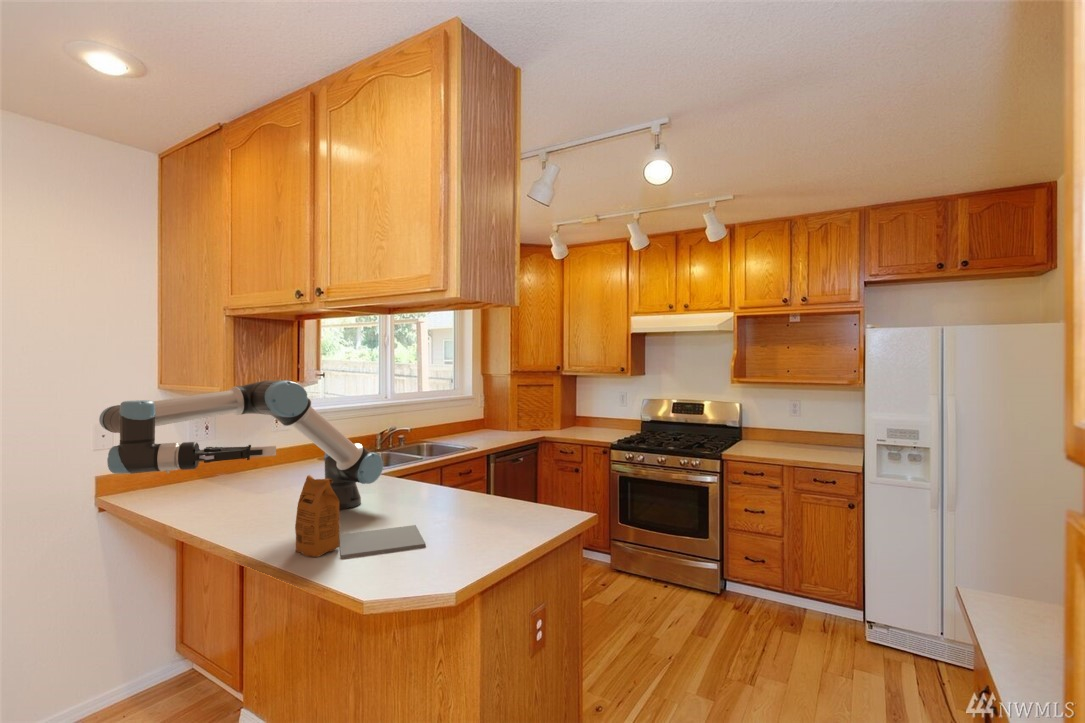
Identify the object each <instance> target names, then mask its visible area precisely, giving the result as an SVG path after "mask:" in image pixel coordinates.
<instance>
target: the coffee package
mask: <svg viewBox="0 0 1085 723" xmlns="http://www.w3.org/2000/svg"><path fill="white" fill-rule="evenodd" d="M331 483H333V481H332V480H331V479H325V478H316V479H315V478H314V477H313V476H312V475H310V474H309V475H307V476H306V478H305V481H304V484H303V487H302V490H301V493H300V496H299V499H298V502H297V507H296V515H295V516H296V517H295V525H294V531H295V532H294V533H295V552H297V553H302V555H303V556H305V557H315V558H318V557H321V556H322V555H324V554H326V553H328V552H331V551H335V550H336V549H338V548H340V529H341V527H340V509H339V500H338V498H337V496H336V494H335V492H334V491H333V489H332V487H331V485H330V484H331Z"/></svg>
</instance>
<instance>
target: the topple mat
mask: <svg viewBox="0 0 1085 723" xmlns="http://www.w3.org/2000/svg"><path fill="white" fill-rule="evenodd" d="M426 544H427V543H426V542H425V540H424V538H423V536H422V535H421V533H420V530H419V529H418V526H417V525H416V524H413V525H407V526H406V525H405V526H397V527H386V528H380V529H373V530H364V531H355V532H354V531H353V532H346V533H339V549H340V550H339V551H340V552H339V553H340V559H349V558H355V557H364V556H371V555H376V554H377V555H378V554H384V553H391V552H399V551H405V550H406V551H407V550H413V549H415V550H416V549H419V548H420V549H421V548H426V546H427V545H426Z"/></svg>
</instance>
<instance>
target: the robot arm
mask: <svg viewBox="0 0 1085 723" xmlns="http://www.w3.org/2000/svg"><path fill="white" fill-rule="evenodd" d="M230 414H234V415H236V416H240V415H241V416H242V415H249V414H251V415H253V414H256V415H266V416H271V417H273V418H274V419H276V420H277V421H278V422H280V424H282V425H283V426H285V427H291V426H292V427H293V428H294V429H296V430H297V431H298V432H299V433H300V434H302V435H303V436H304V437H306V438H307V439H308V440H309V441H311V442H312V443H313V444H314V445H316V446H317V448H319V449H321V451H323V452H324V459H323V460H324V479H331V480H332V481H333V483H331V484H330V485H331V487H332V489H333V491H334V492H335V494H336V496H337V498H338V500H339V510H344V509H343V508H346V509H350V508H349V507H351V508H355V507H357V506H359V505H361V503H362V496H361V494H360V491H359V489H358V488H359V487H358V485H357V483H360V484H362V485H365V484H366V485H370V484H372V483H375V482H376V481H377V480H378V479H379V478H380V476H381V475H382V472H383V469H384V466H383V465H384V462H383V459H382V456H381V455H380V454H378V453H376V452H373V451H372V452H371V451H369V450H368V449H367V448H365V446H363V445H362V443H359V442H355V443H353V442H352V440H350V439H349V438H348V437H347V436H345V435H344V434H343V433H342V432H340V430H339V429H338V428H336V427H335V426H334V425H333V424H332V423H330V422H329V421H328V420H327V419H326V418H325V417H324V416H322V415H321V414H320V413H319V412H318V411H317V410H315V409H314V408H313V407H312V400H311V399H310V398H309V397H308V392H307V390H306V389H305V388H304V387H303V386H302V385H301V384H300V383H297V382H294V381H291V380H283V379H282V380H260V381H257V382H253V383H249V384H248V383H246V384H243V385H236V386H232V387H231V388H230V389H229V390H224V391H223V390H222V391H218V392H217V391H216V392H210V393H202V394H195V395H194V394H193V395H189V396H181V397H174V398H167V399H161V400H150V399H149V400H148V399H146V400H145V399H144V400H138V399H137V400H136V399H135V400H125V401H122V402H120V404H117V405H111V406H109V407H107V408H105V409H104V410H102V411H101V413H100V415H99V418H98V421H99V425H100V426H101V427H102V428H103V429H104V430H106V431H108V432H110V433H115V434H119V443H118V445H114V446H112V447H111V448H110V449H109V451H108V454H107V455H108V456H107V463H106V464H107V468H108V470H109V471H110V472H111V473H112V474H117V475H118V474H119V475H121V474H131V475H133V474H142V473H154V472H164V471H165V473H166V474H169V473H171V471H178V470H179V469H180V470H181V471H186V470H196V469H197V468H198V466H199V464H200V462H203V463H205V464H207V463H212V462H214V463H215V462H223V461H233V460H234V461H235V460H245V459H246V461H250V458H262V457H275V456H277V445H268V446H267V445H266V446H252V444H248V446H247V445H246V446H206V447H205V448H203V449H200V444H199V443H198V442H197V441H187V442H182V443H180V442H163V443H162V442H161V443H155V442H156V437H155V436H156V427H160V426H165V425H172V424H177V423H182V422H183V423H184V422H188V421H189V422H190V421H194V420H199V419H206V418H211V417H216V416H217V417H218V416H223V415H230ZM354 506H355V507H354Z"/></svg>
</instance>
